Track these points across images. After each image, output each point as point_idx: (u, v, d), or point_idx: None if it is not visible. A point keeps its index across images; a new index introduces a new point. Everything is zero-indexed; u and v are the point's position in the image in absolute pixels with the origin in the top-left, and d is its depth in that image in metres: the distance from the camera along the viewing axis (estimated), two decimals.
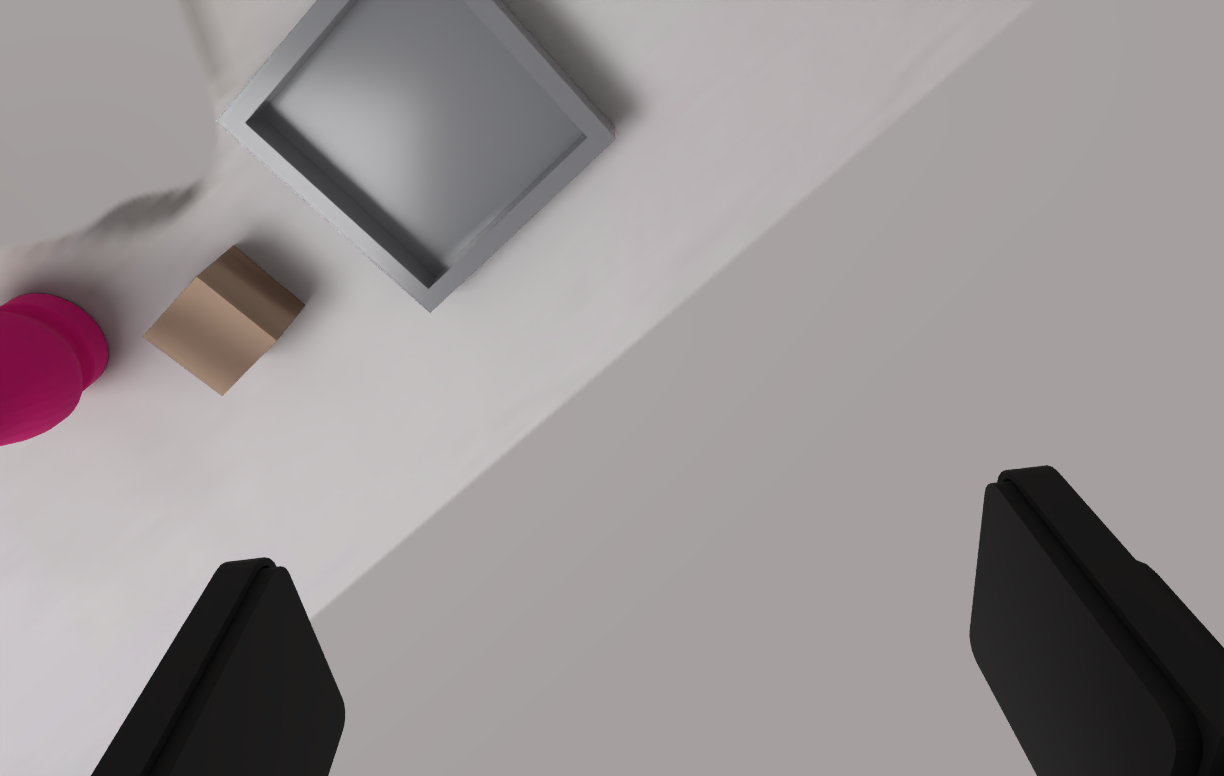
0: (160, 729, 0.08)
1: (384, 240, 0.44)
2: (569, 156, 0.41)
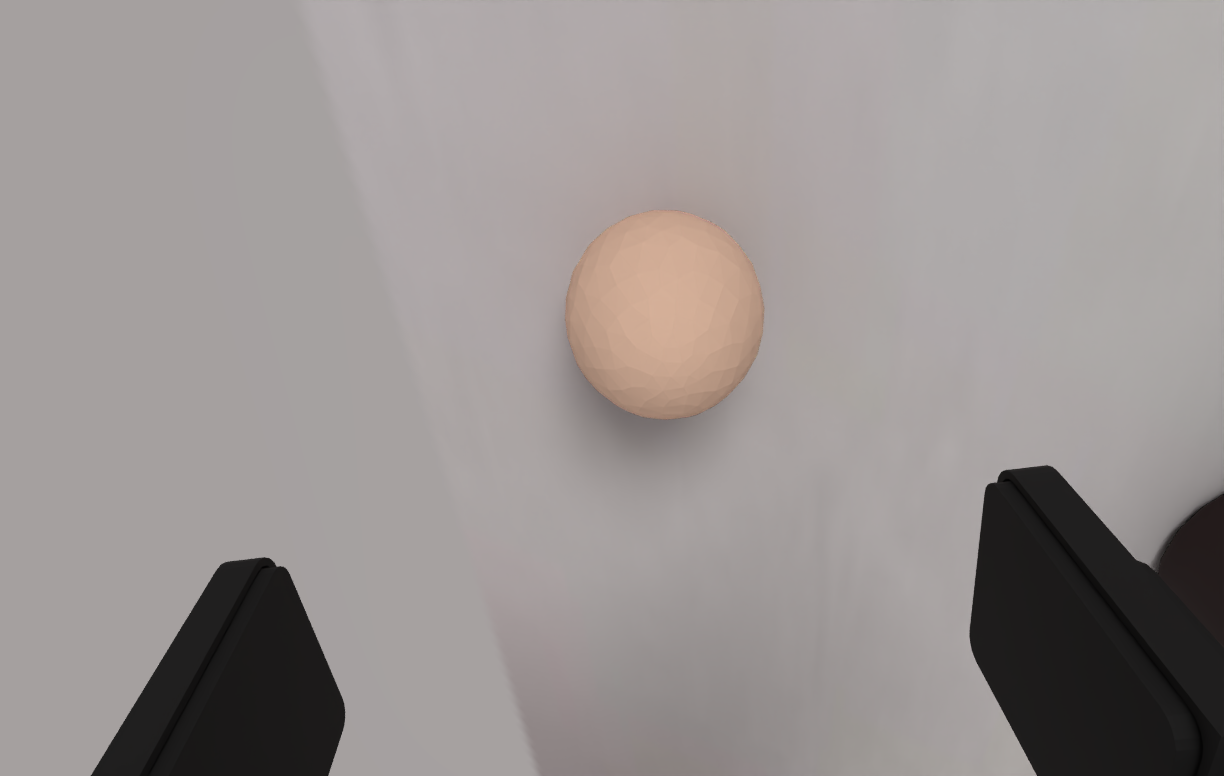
0: (160, 729, 0.08)
1: None
2: None
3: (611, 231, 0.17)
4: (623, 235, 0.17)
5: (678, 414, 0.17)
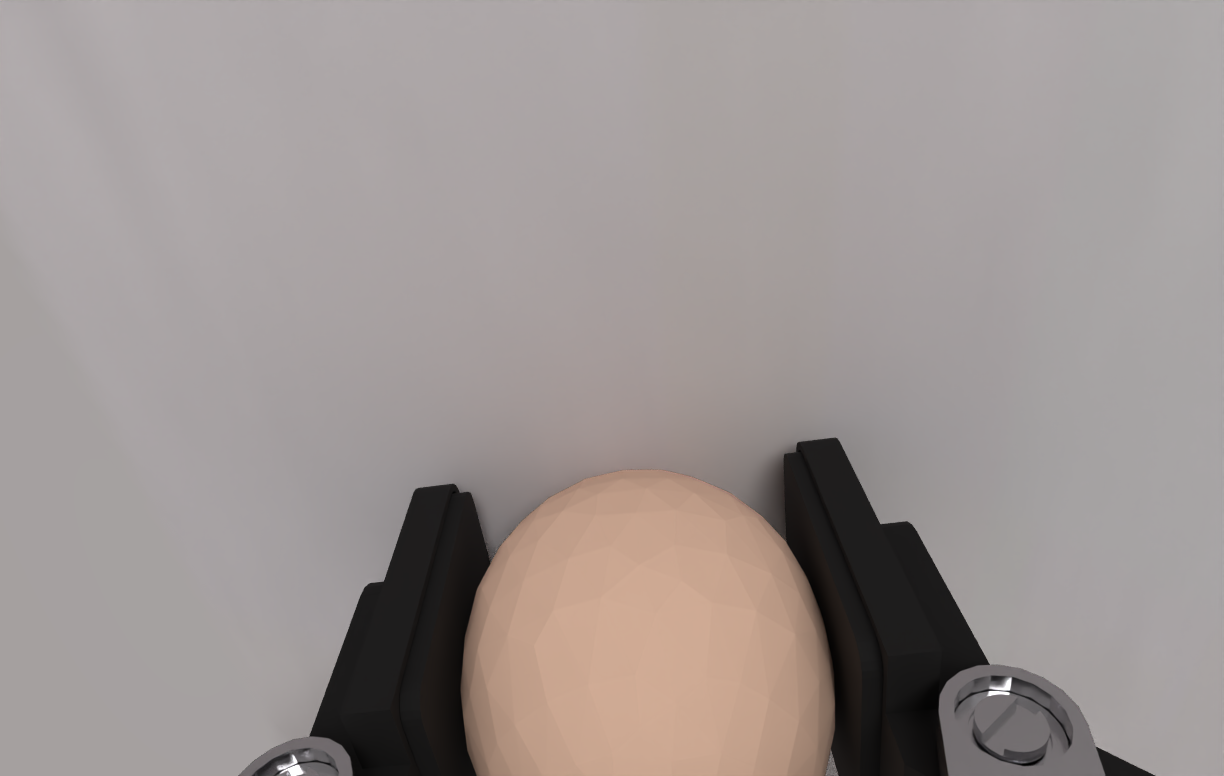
0: (409, 619, 0.09)
1: None
2: None
3: (543, 538, 0.09)
4: (565, 566, 0.09)
5: None
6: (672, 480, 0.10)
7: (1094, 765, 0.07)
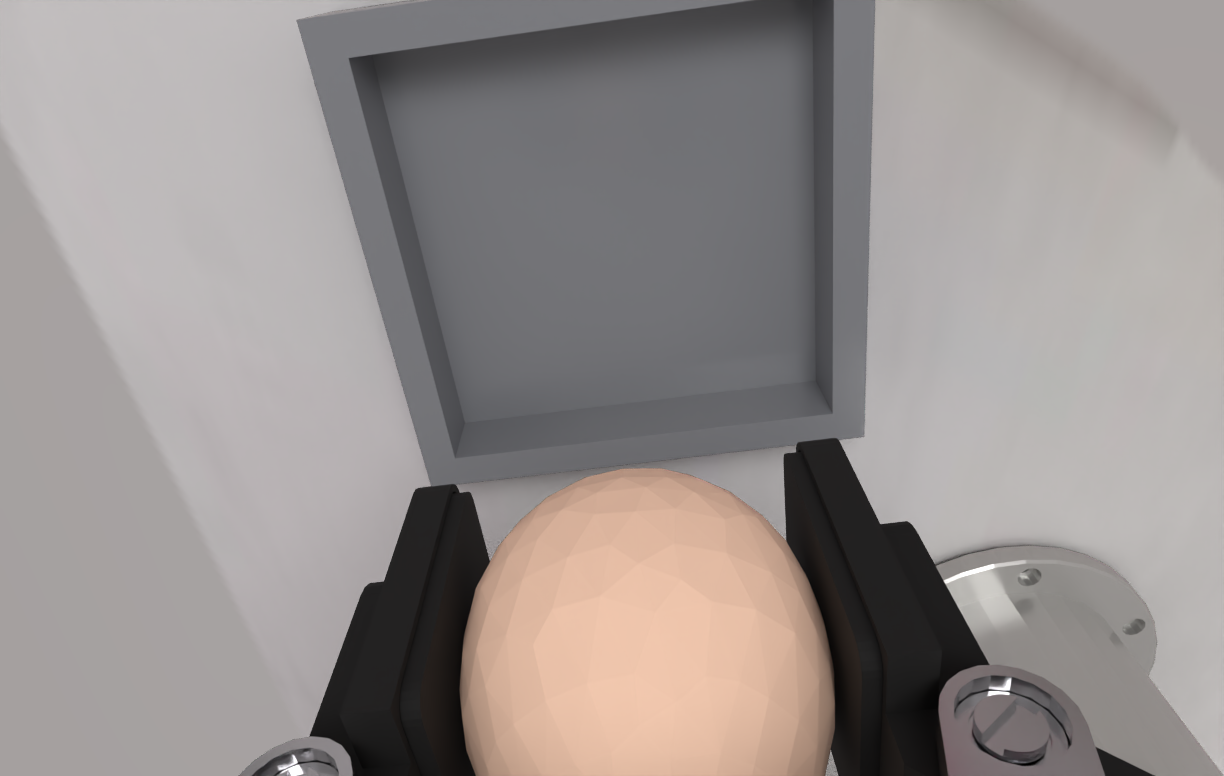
0: (409, 619, 0.09)
1: None
2: (443, 423, 0.25)
3: (542, 537, 0.09)
4: (565, 563, 0.08)
5: None
6: (671, 479, 0.10)
7: (1093, 765, 0.07)
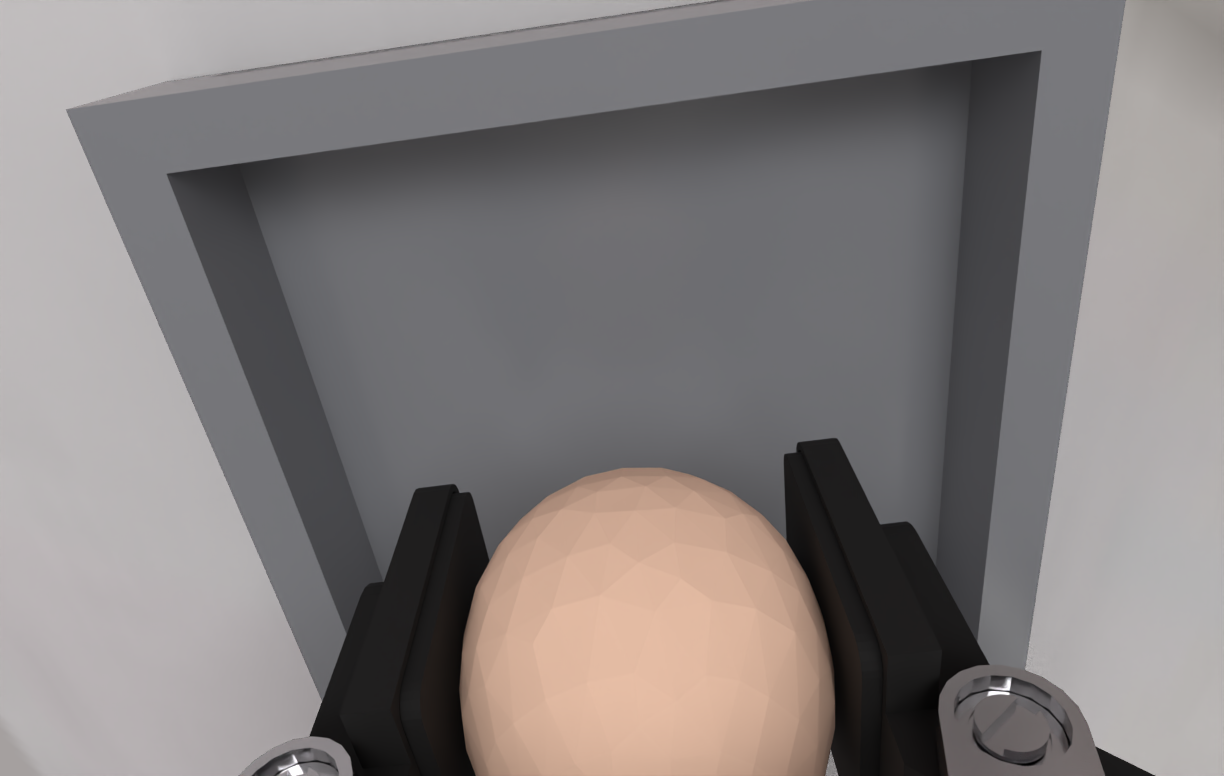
0: (409, 619, 0.09)
1: None
2: None
3: (542, 536, 0.09)
4: (564, 564, 0.08)
5: None
6: (671, 478, 0.10)
7: (1094, 765, 0.07)
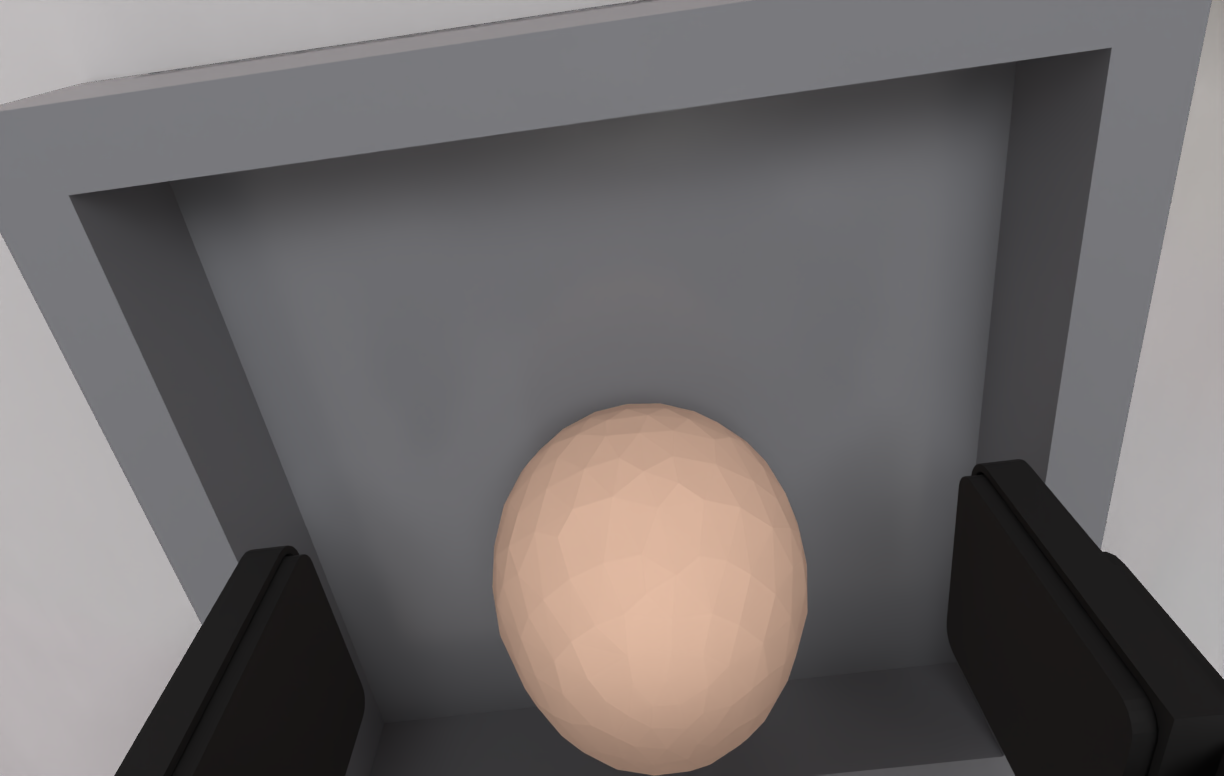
0: (192, 710, 0.08)
1: None
2: None
3: (561, 456, 0.11)
4: (582, 474, 0.10)
5: None
6: (669, 409, 0.11)
7: None
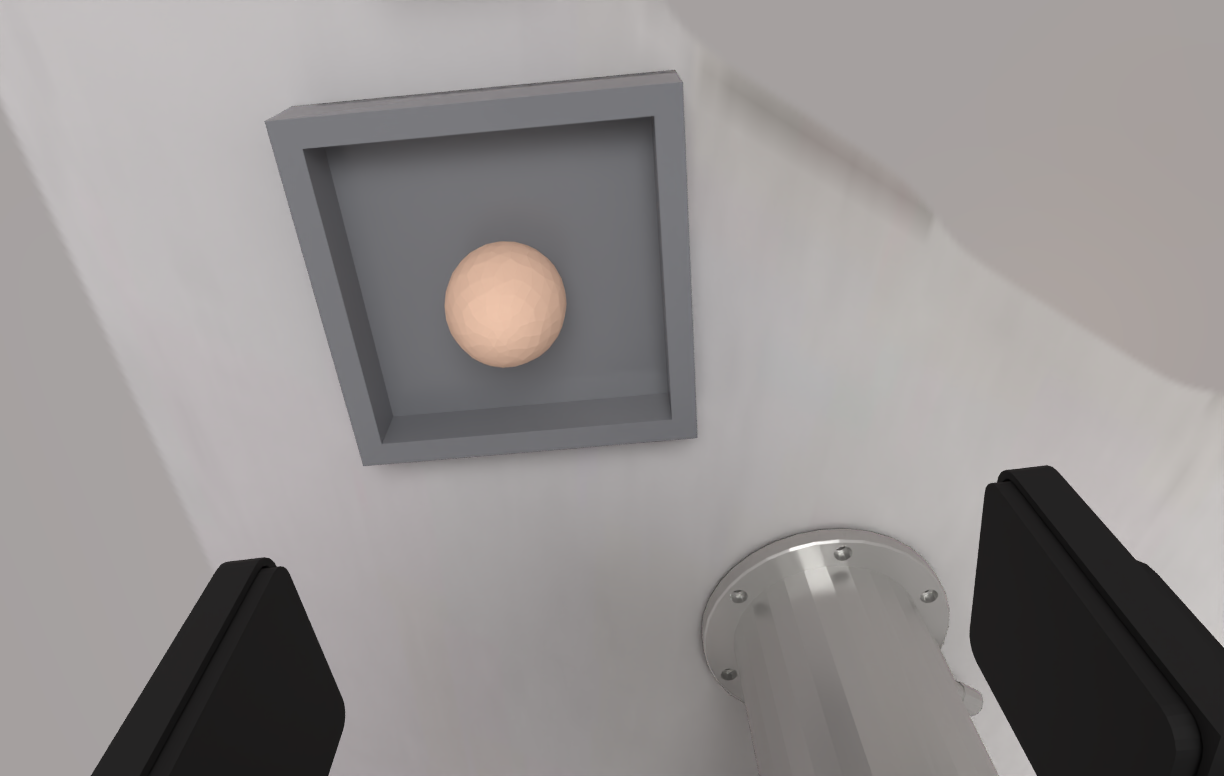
0: (160, 729, 0.08)
1: None
2: (372, 416, 0.33)
3: (472, 253, 0.29)
4: (477, 256, 0.28)
5: (506, 362, 0.28)
6: (516, 242, 0.30)
7: None
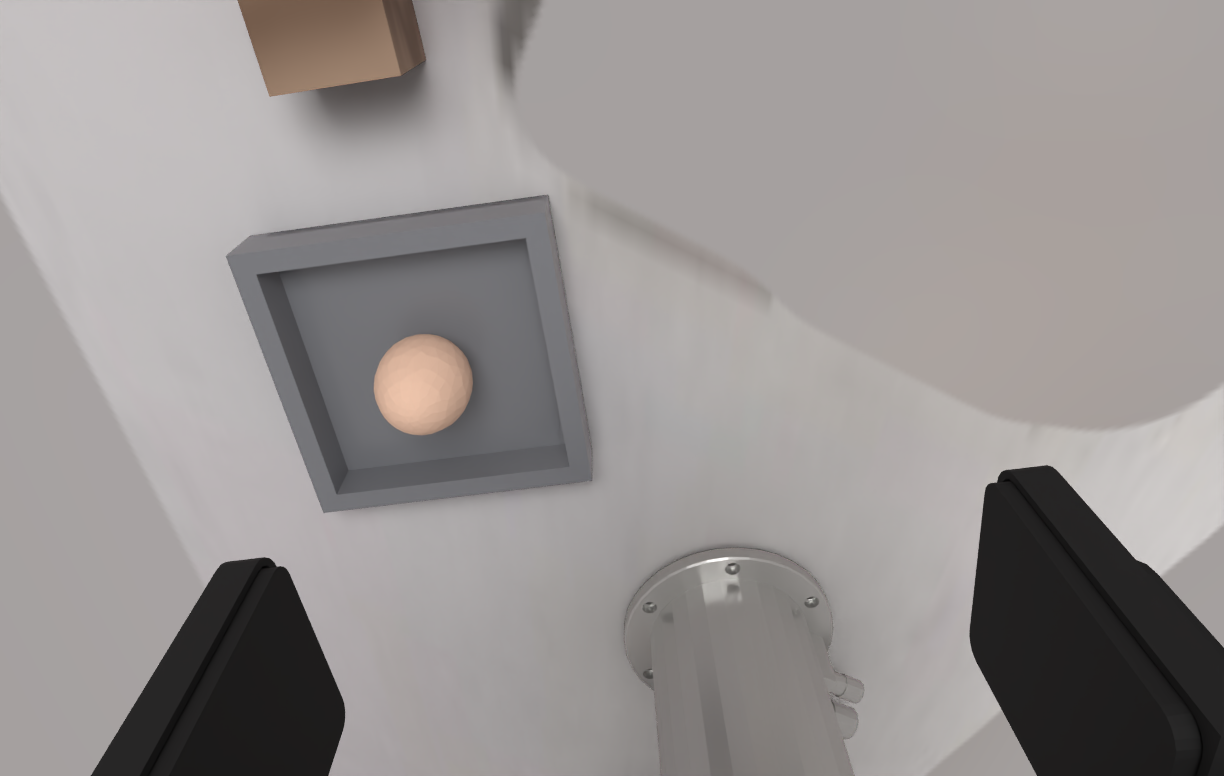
0: (160, 729, 0.08)
1: None
2: (327, 473, 0.40)
3: (393, 346, 0.37)
4: (396, 350, 0.36)
5: (421, 433, 0.36)
6: (429, 334, 0.37)
7: None
